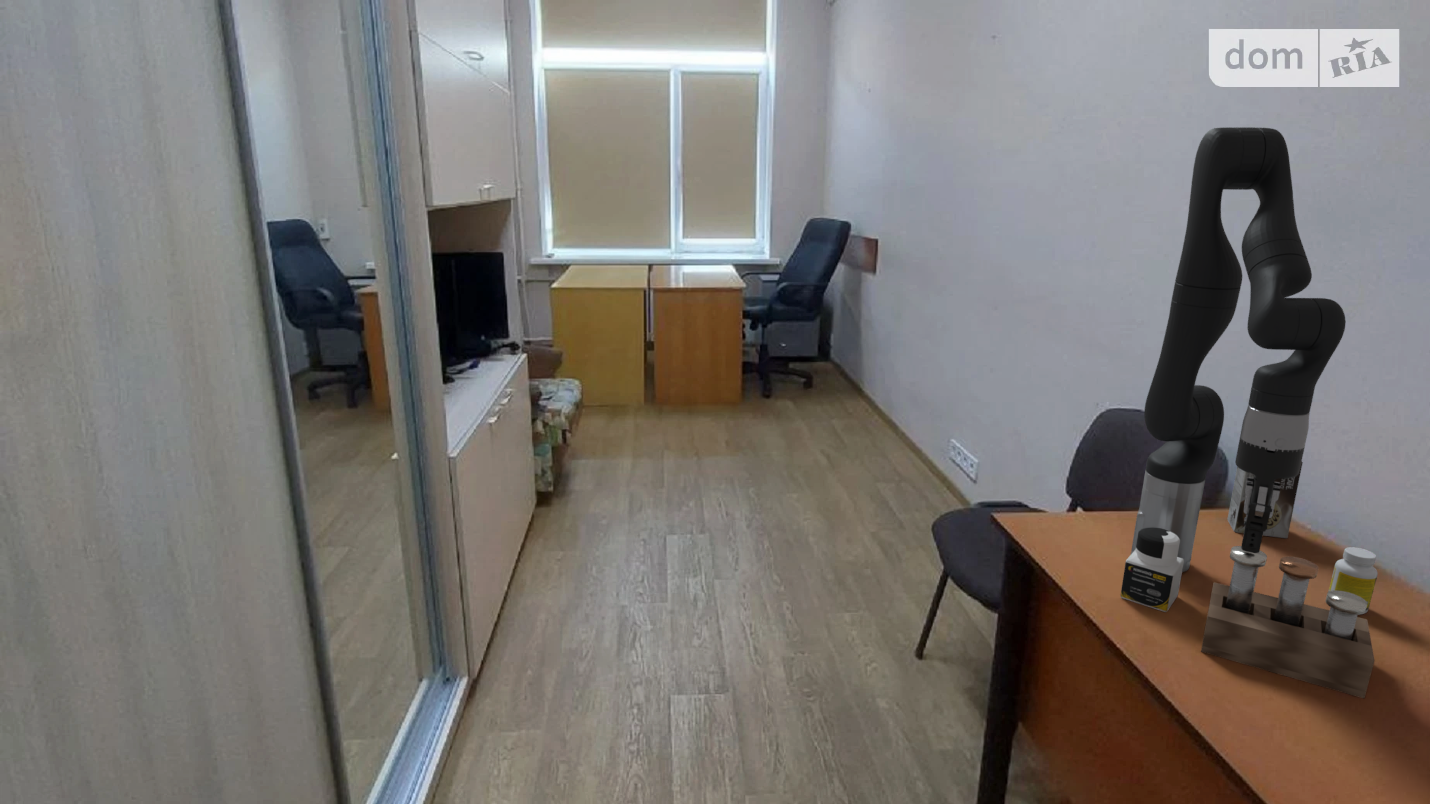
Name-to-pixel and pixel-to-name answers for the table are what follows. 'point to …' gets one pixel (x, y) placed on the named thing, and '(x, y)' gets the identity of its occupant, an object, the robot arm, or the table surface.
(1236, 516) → the coffee box
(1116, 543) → the table surface
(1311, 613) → the mount
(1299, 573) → the copper and grey cylinder
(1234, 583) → the knob left
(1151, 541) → the medicine bottle
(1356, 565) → the supplement bottle
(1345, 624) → the knob right
